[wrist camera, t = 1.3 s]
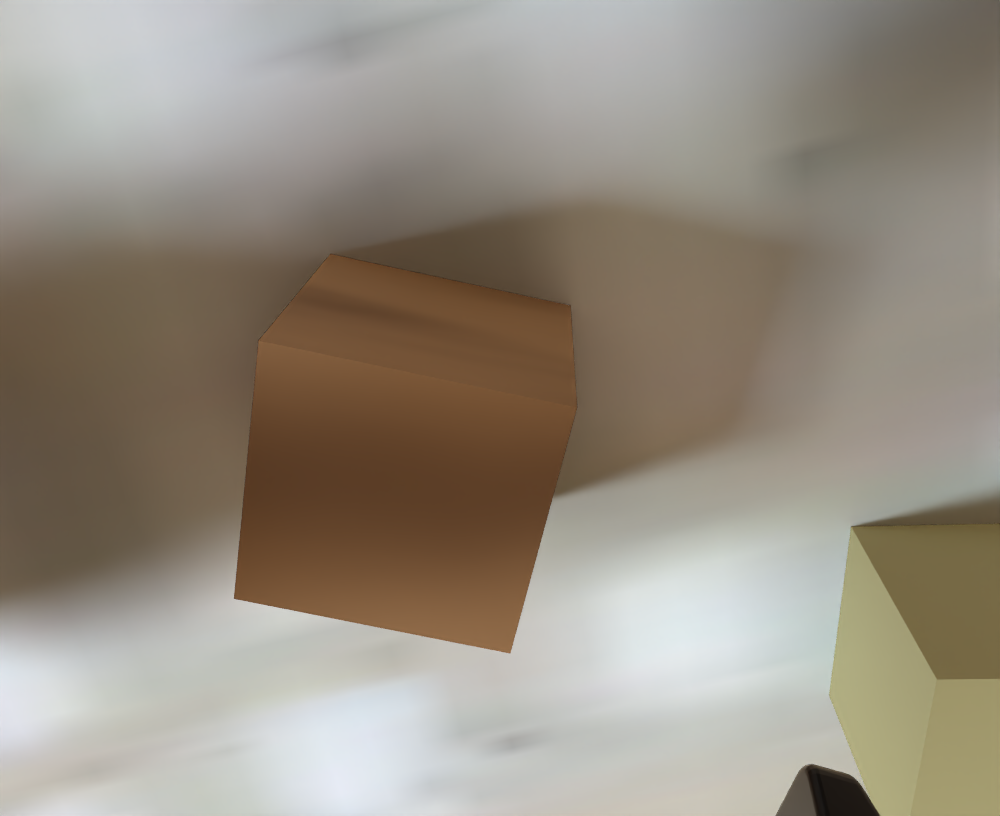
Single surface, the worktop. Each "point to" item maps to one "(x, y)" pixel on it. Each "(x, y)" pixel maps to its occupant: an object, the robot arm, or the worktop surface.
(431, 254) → the worktop surface
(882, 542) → the olive cube
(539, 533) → the walnut cube
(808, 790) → the robot arm
